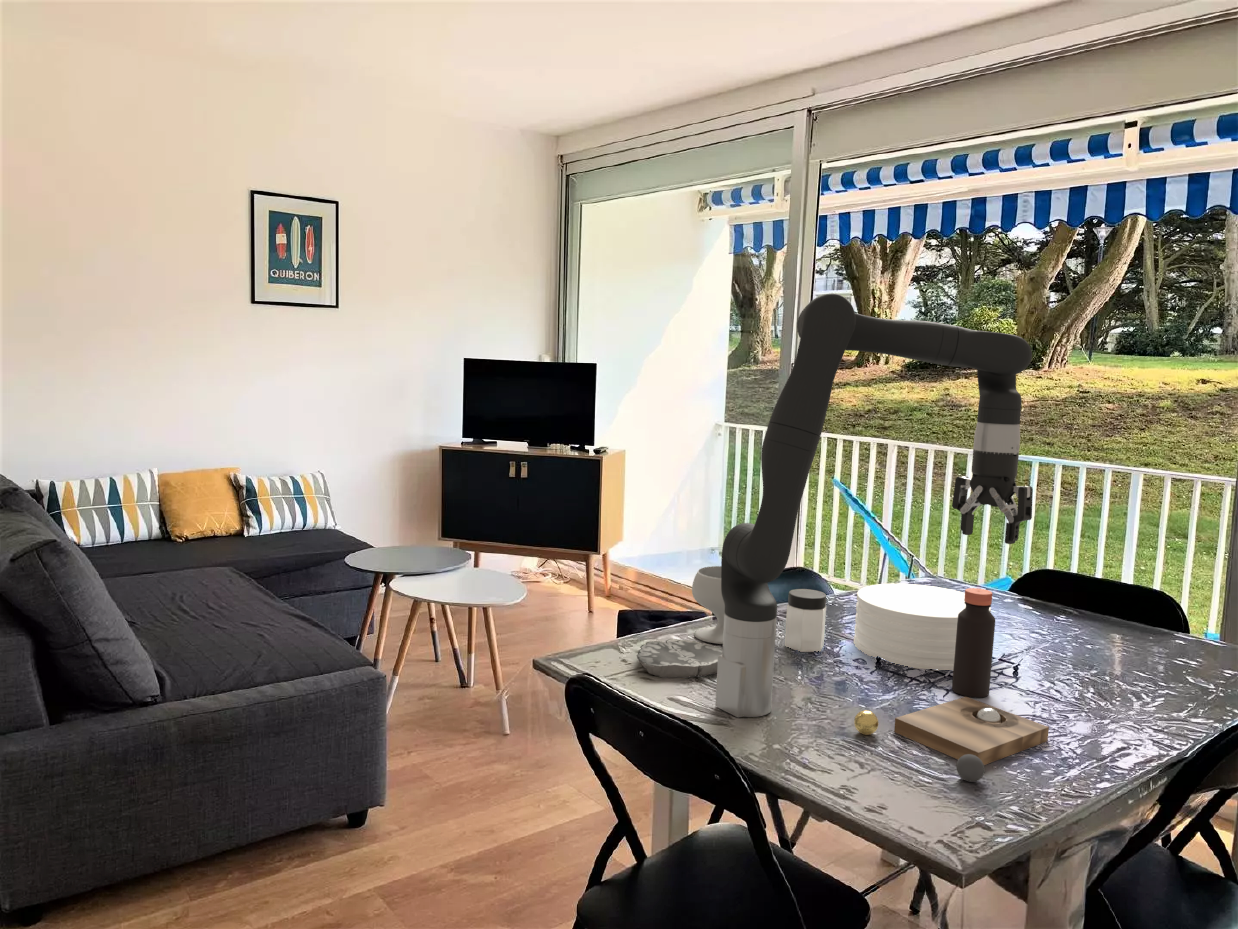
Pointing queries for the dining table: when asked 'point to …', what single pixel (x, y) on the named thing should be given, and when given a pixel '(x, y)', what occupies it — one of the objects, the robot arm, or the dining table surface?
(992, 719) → the steel ball
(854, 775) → the dining table surface
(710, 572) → the chalice
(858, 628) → the plate stack
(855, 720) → the brass ball
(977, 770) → the rubber ball
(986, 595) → the bottle
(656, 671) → the brain slice
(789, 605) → the jar
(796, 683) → the dining table surface
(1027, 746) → the board
